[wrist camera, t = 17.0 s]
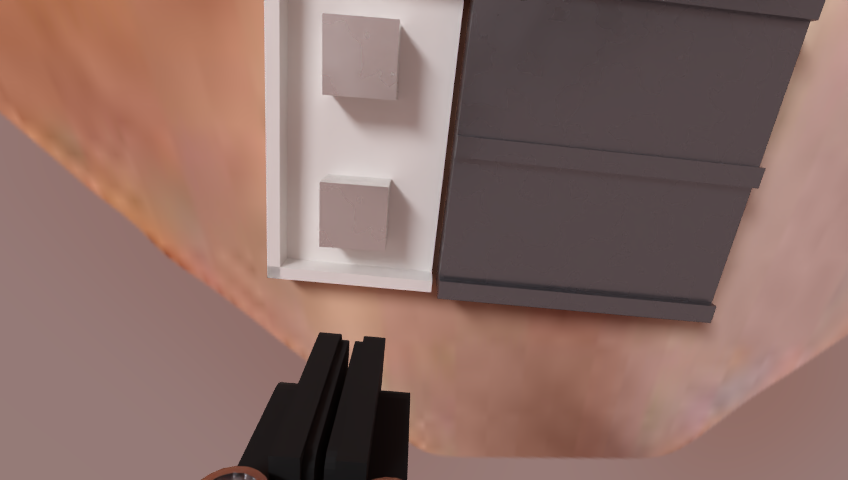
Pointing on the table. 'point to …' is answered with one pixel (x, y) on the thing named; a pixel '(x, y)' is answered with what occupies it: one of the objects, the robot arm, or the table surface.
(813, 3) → the slot block
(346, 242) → the grey square block
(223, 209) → the table surface
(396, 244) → the tray
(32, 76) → the table surface
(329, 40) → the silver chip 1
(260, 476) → the robot arm
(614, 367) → the table surface
